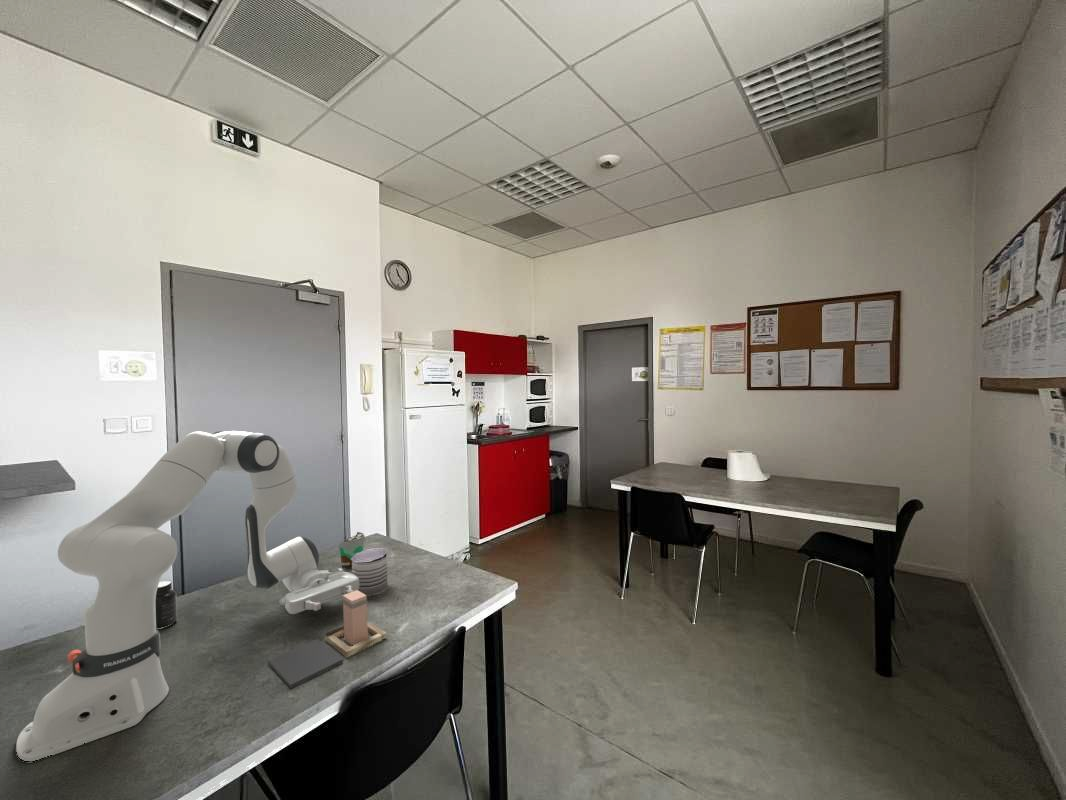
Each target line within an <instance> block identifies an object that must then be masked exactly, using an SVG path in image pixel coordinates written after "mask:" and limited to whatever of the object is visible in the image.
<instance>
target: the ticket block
mask: <svg viewBox="0 0 1066 800" xmlns="http://www.w3.org/2000/svg"><path fill="white" fill-rule="evenodd" d="M367 597H368V596H366V595H365V594H363V593H361V592H360V591H358V590H356V591H353V592H351V593H348V594H345V595H343V596H342V607H343V609H342V612H343V625H344V636H343V638H344V639H345V641H346V642H347V641H348V642H349V643H348V642H347V643H348V644H350V646H352V645H355V644H357V643H359V642H361V641H364V640H366V639H368V638H369V636H368V635H369V632H368V627H367V620H368V605H367V604H368V598H367ZM344 639H343V640H344Z"/></svg>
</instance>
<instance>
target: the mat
mask: <svg viewBox="0 0 1066 800" xmlns="http://www.w3.org/2000/svg"><path fill="white" fill-rule="evenodd" d="M343 660H344V659H343V658H342V657H341V656H340V655H338V654H337V653H336V652H335V651H334V650H332V649H331V648H330V647H329V646H328V645H326V644H325V643H323V641H321V640H320V639H319V638H316V639H314V640H312V641H310V642H308V643H305V644H302V645H301V646H298V647H295V648H293V649H291V650H289V651H287V652H284V653H282V654H279V655H278V656H275V657H272V658H270V659H268V660H267V664H268V666H269V667H271V669H273V671H274V672H275V673H276V675H278V676H279V677H280V679H282V681H284V683H285V684H286V685H287V686H288V687H289V688H290V689H292V688H294V687H297V686H298V685H300V684H303V683H304V682H307V681H309V680H310V679H312V678H315V677H317V676H318V674H319V675H320V673H321V674H323V673H324V671H325V672H326V670H327V669H329V668H331V669H332V667H333V668H335V667H337V666H339V665H340V663H341V664H342V662H343V663H344V661H343ZM338 664H339V665H338ZM336 665H337V666H336ZM334 666H335V667H334ZM329 670H330V669H329ZM327 671H328V670H327ZM322 672H323V673H322ZM314 676H315V677H314Z"/></svg>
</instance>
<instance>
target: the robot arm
mask: <svg viewBox="0 0 1066 800" xmlns="http://www.w3.org/2000/svg"><path fill="white" fill-rule="evenodd" d="M216 471H224V472H228V473H235V474H237V473H239V474H240V473H241V474H242V473H244V474H245V473H248V474H249V476H250V482H251V486H252V488H253V489H252V490H253V494H252V500H251V502H250V504H248V506H247V507H246V509H245V516H244V518H245V534H246V538H245V539H246V547H247V549H246V550H247V578H248V580H249V582H250V583H251V585H252V586H253V587H254V588H256V589H261V590H269V589H271V588H272V587H274V586H276V585H277V584H279V583H280V582H281V581H282V583H283V585H284V586H285V587H286V589H288V590H289V592H287V593H286V594H285V595H284V596H282V598H281V599H279V600H278V603H279V604H280V605H282V606H284V607H285V608H284V609H285V610H286V611H287V613H288V614H289V615H296V614H299V613H301V612H304V611H306V610H307V611H308V610H309V611H310V610H313V611H314V612H316V611H319V610H321V609H322V607H321V606H322V605H323V604H325V603H328V602H330V601H333V600H335V599H338V598H341V597H343V595H345V594H348V593H351V592H353V591H356V590H358V589H359V578H358V577H357V576H355V575H353V574H352V572H347V571H344V569H343V568H342V567H340V568H334V569H325V570H323V569H320V570H319V569H317V568H318V567H319V563H320V555H319V551H318V548H317V545H316V544H315V543H314V542H313V541H312V540H311V539H308V538H307V537H304V536H300V535H299V536H297V537H295V538H293V539H290V540H287V542H286V541H285V542H284V543H283V544H281V545H279V546H276V547H275V548H273V549H271V550H269V551H267V547H266V546H267V545H266V529H267V527H268V525H269V523H270V522H271V521H272V520H273V519H274V518H275V517H276V516H277V515H279V514H280V513H281V512H282V511H283V510H284V509H286V508H287V507H288V506H290V504H291V503H292V502H293V501H294V498H295V497H296V495H297V492H298V484H297V483H298V482H297V479H296V474H295V471H294V467H293V465H292V462H291V460H290V458H289V455H288V453H287V452H286V450H285V448H284V447H283V445H281V444H279V443H277V441H276V440H275V439H274V438H273V437H272V436H270V435H269V434H265V433H262V432H249V431H243V430H231V431H229V430H228V431H222V430H221V431H215V432H214V431H213V432H211V433H209V432H204V431H193V432H190V433H188V434H186V435H185V436H184V437H183V438H181V439H180V440H179V441H178V442H176V443H175V444H174V445H173V446H172V447H170V449H169V450H167V451H166V452H165V453H164V454H163V455H162V456H161V457H160V458H159V460H158V461H157V462H156V463H155V464H154V466H153V467H151V469H150V470H149V471H148V472H147V473H146V474H145V476H143V478H142V479H141V480H140V481H138V483H137V484H136V485H135V487H133V488H132V489H131V490H130V491H129V492H128V493H127V494H125V495H124V497H122V498H121V499H119V500H118V501H117V502H115V503H114V504H113V505H111V506H110V507H109V508H107V509H106V510H105V511H104V512H102V513H101V514H100V515H98V516H97V517H95V518H94V519H92V520H91V521H88V522H87V523H85V524H83V525H80V526H78V527H76V528H75V529H73V530H71V531H69V532H68V533H67V534H66V535H65V536H64V538H63V539H61V542H60V543H59V546H58V549H57V558H58V560H59V562H60V563H61V564H62V565H63V566H64V567H66V568H67V569H68V570H70V571H72V572H74V573H76V574H79V575H83V576H88V577H93V578H96V579H97V581H98V590H97V594H96V596H95V600H94V603H93V604H91V605H90V606H89V607H88V608H87V610H86V611H85V613H84V634H85V636H84V637H85V639H84V640H85V649H84V650H80V649H74V650H72V651H70V652H69V653H68V655H67V659H68V660H67V661H68V662H69V663H71V665H72V666H71V668H72V673H71V674H70V675H68V676H67V677H65V679H63V680H62V681H61V682H60V683H59V684H57V686H55V687H54V688H53V689H51V690H50V691H49V692H48V693H47V694H46V695H45V696H44V697H42V699H41V700H40V702H39V704H38V706H37V707H36V711H35V713H34V715H33V716H34V717H33V721H31V722H29V723H28V724H27V725H26V726H25V727H24V728H23V729H22V730H21V731H20V733H19V735H18V737H17V739H16V745H15V753H16V752H17V754H16V756H17V755H18V757H19V758H20V759H22V760H24V761H35V760H38V761H40V760H39V759H41V758H44V757H46V758H48V757H47V756H49V757H51V756H50V755H52V756H54V755H57V754H59V753H63V752H66V751H68V750H71V749H73V748H76V747H80V746H82V745H85V744H88V743H91V742H93V741H95V740H98V739H101V738H104V737H107V736H110V735H112V734H116V733H117V732H120V731H124V730H126V729H129V728H131V727H133V726H136V725H137V724H139V723H140V722H141V721H142V720H143V719H144V717H146V715H147V714H148V713H149V712H150V711H151V710H153V709H154V708H155V707H157V706H158V705H159V704H160V703H162V701H164V700H165V698H166V697H167V696H168V694H169V691H170V687H169V686H168V683H167V681H166V679H165V676H164V673H163V670H162V665H161V661H160V655H161V635H160V634H161V633H160V630H158V629H157V628H156V604H155V601H156V592H157V588H158V585H159V582H161V579H162V576H163V575H164V574H165V573H166V572H168V570H169V569H171V567H172V566H173V564H174V562H175V560H176V558H177V556H178V544H177V542H176V539H175V538H174V537H173V536H172V535H170V534H168V533H166V532H165V531H162V530H160V527H162V526H163V525H164V524H166V523H168V522H169V521H171V520H173V519H175V518H177V517H179V516H181V515H182V514H183V513H184V512H186V511H187V509H188V508H189V506H190V505H191V504H192V503H193V501H194V500H195V498H196V497H197V496H198V495H199V494H200V493H201V491H202V490H203V489H204V487H205V486H206V484H207V483H209V480H210V479H211V477H212V476H213V475H214V473H215V472H216ZM84 743H85V744H84ZM29 752H30V753H29ZM18 757H17V758H18ZM19 758H18V759H19ZM20 759H19V760H20ZM44 759H45V758H44ZM41 760H42V759H41ZM24 761H23V762H24ZM35 762H36V761H35Z"/></svg>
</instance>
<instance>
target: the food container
mask: <svg viewBox="0 0 1066 800" xmlns="http://www.w3.org/2000/svg"><path fill="white" fill-rule="evenodd" d="M338 542H339V543H338V549H339V552H340V562H341V568H350V567H349V566H351V567H352V560H351V558H352V557H353V556H354V555H355V554H357V553H359V552H362V551H364V544H365V542H366V536H365V534H364V533H363V532H362V531H361V532H360V531H357V532H356V534H355V535H353V536H350V537H348V538H346V540H344V541H338Z"/></svg>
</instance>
